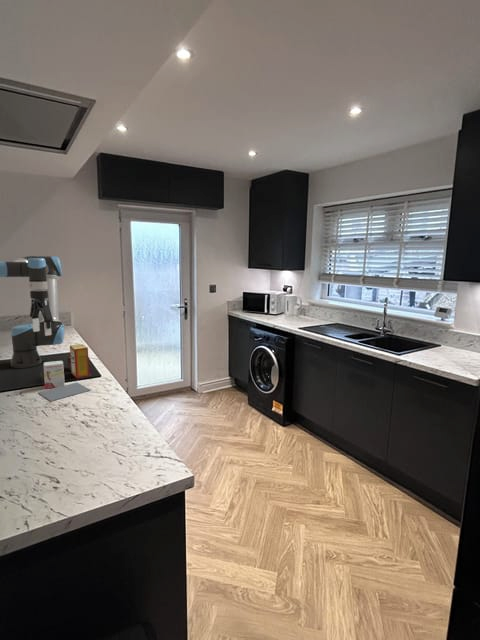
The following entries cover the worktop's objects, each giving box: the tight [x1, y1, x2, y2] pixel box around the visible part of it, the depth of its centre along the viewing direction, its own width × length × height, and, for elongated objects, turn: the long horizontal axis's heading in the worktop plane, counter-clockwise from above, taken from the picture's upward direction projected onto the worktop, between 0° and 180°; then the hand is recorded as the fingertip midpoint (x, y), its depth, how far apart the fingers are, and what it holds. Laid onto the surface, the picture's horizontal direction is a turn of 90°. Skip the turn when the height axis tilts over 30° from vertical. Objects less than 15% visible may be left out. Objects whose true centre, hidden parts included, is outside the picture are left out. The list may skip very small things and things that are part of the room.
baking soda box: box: [69, 343, 90, 379], centre depth 188 cm, size 10×6×16 cm
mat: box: [38, 382, 91, 402], centre depth 166 cm, size 14×18×1 cm
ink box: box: [43, 360, 66, 390], centre depth 172 cm, size 9×5×12 cm, turn 120°
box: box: [67, 356, 71, 371], centre depth 198 cm, size 6×6×7 cm
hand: (42, 333), depth 174 cm, fingers open, 13 cm apart
